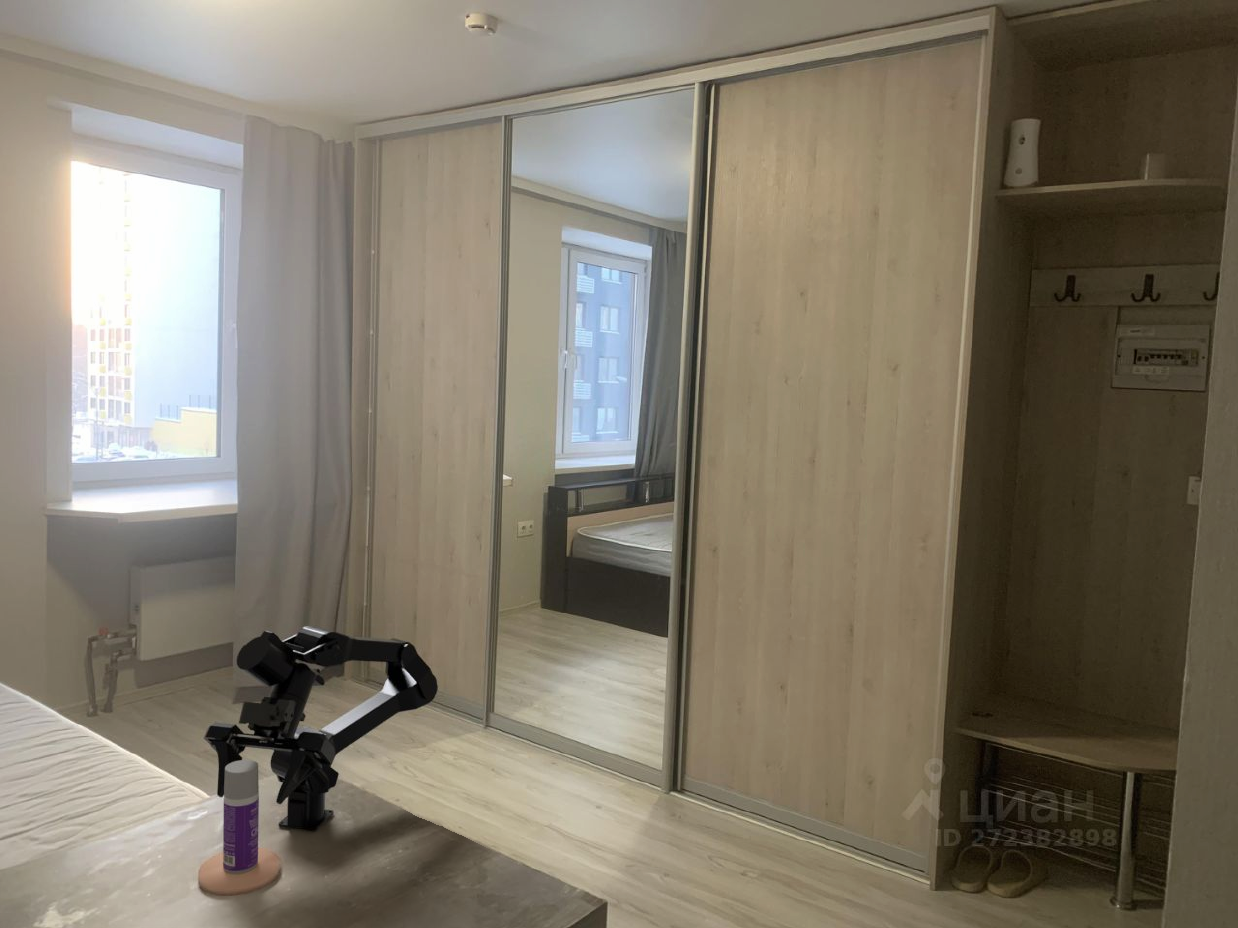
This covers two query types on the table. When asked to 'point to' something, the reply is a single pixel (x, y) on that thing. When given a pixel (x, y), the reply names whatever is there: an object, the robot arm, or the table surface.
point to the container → (240, 817)
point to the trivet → (238, 875)
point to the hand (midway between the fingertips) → (248, 799)
